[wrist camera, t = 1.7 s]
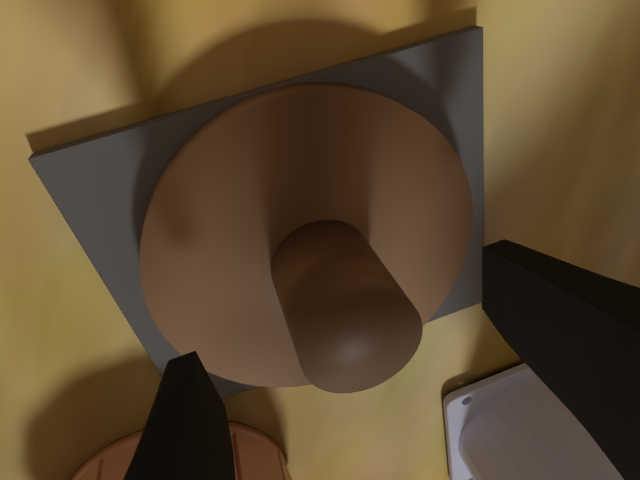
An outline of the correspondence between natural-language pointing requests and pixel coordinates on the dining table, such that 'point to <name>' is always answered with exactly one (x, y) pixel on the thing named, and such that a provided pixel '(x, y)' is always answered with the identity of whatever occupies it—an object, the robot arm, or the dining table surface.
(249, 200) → the lid
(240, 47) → the dining table surface
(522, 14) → the dining table surface
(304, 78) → the mat
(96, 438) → the dining table surface
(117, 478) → the bowl
